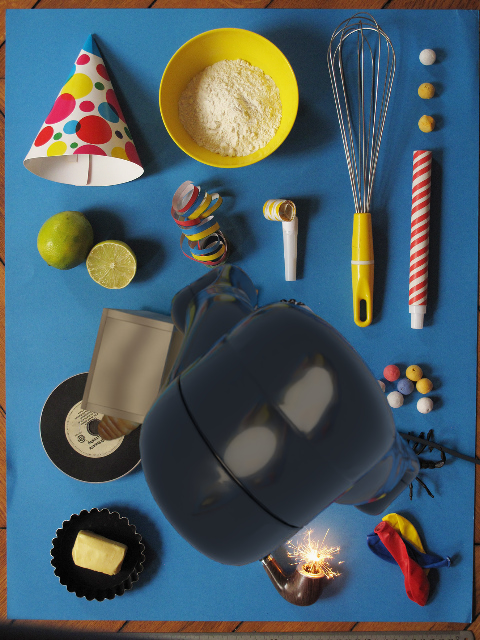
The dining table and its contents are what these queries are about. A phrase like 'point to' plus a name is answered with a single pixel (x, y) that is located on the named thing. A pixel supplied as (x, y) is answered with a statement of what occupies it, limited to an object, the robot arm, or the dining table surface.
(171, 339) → the shelf
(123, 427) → the pastry
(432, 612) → the dining table surface
